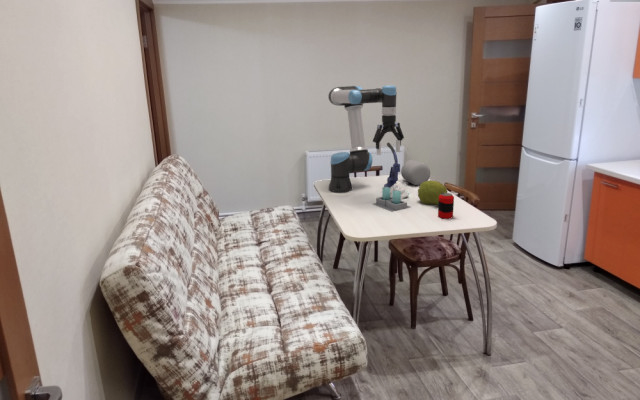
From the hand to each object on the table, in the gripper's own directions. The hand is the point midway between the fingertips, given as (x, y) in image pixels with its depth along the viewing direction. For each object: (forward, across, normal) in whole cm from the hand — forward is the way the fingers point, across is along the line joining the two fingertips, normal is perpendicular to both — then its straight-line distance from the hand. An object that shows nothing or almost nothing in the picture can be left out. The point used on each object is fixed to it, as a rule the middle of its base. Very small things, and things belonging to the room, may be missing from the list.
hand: (388, 153), depth 261 cm
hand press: (+29, +22, +23) cm, 43 cm away
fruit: (+29, +18, -17) cm, 38 cm away
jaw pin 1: (+28, -4, -4) cm, 28 cm away
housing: (+29, -4, -8) cm, 30 cm away
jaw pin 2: (+28, -4, -12) cm, 31 cm away
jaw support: (+29, +10, +2) cm, 31 cm away
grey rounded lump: (+29, +41, +28) cm, 58 cm away
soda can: (+29, +8, -37) cm, 48 cm away
